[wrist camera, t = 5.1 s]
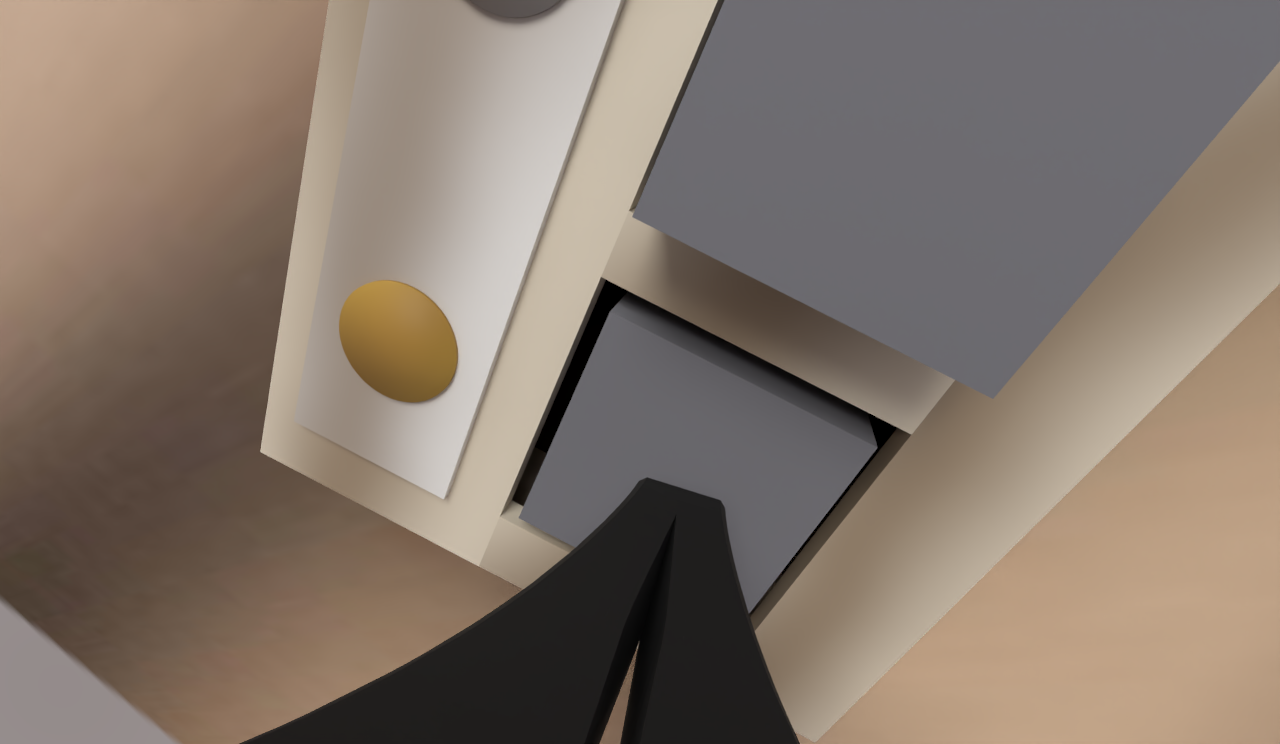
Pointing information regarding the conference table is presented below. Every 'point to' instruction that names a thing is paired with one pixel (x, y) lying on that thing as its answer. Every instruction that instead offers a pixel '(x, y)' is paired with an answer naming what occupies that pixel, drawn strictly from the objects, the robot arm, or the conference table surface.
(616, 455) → the button
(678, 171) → the button
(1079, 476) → the button box
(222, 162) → the conference table surface
